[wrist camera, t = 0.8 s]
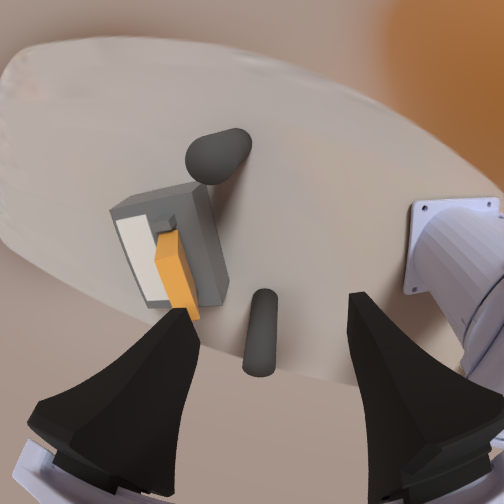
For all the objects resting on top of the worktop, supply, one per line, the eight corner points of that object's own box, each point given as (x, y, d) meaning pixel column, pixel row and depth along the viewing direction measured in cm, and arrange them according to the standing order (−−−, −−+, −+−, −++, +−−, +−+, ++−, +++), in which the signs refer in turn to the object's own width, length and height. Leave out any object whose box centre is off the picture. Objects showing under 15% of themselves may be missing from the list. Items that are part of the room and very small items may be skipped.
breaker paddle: (177, 229, 16) (177, 254, 12) (195, 285, 17) (200, 318, 14) (158, 234, 15) (154, 261, 12) (177, 289, 17) (179, 324, 14)
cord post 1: (249, 125, 16) (229, 130, 9) (254, 156, 16) (239, 180, 10) (217, 131, 16) (180, 141, 10) (223, 161, 17) (191, 189, 11)
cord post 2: (276, 287, 21) (273, 356, 15) (279, 307, 22) (277, 376, 16) (250, 289, 21) (239, 358, 15) (255, 309, 22) (245, 377, 16)
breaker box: (205, 179, 17) (186, 197, 14) (229, 280, 21) (219, 314, 18) (130, 196, 18) (101, 215, 15) (161, 286, 22) (143, 316, 18)
